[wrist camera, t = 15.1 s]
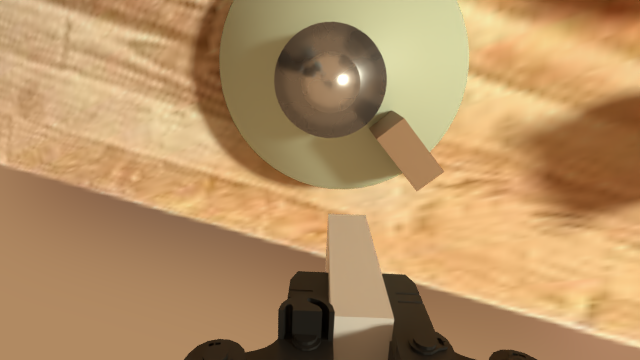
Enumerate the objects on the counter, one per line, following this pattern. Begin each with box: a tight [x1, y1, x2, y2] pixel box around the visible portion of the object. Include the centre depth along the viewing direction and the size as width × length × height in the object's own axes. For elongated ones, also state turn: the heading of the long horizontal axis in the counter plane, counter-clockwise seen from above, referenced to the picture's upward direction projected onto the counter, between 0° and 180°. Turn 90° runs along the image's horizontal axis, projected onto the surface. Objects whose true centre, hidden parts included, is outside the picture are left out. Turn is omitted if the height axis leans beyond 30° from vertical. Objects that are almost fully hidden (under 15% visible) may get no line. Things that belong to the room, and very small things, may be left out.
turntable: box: [219, 0, 469, 191], centre depth 29 cm, size 20×20×7 cm
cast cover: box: [274, 22, 387, 138], centre depth 28 cm, size 8×8×6 cm
